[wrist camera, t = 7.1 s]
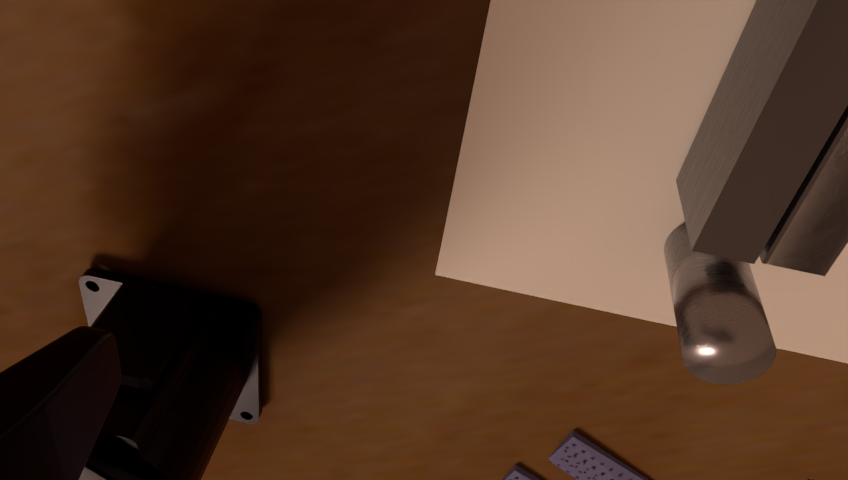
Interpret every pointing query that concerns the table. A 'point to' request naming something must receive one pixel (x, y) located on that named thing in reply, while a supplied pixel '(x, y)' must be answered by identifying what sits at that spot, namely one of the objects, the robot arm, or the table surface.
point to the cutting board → (605, 162)
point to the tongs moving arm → (765, 125)
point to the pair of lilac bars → (582, 462)
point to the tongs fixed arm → (733, 280)
